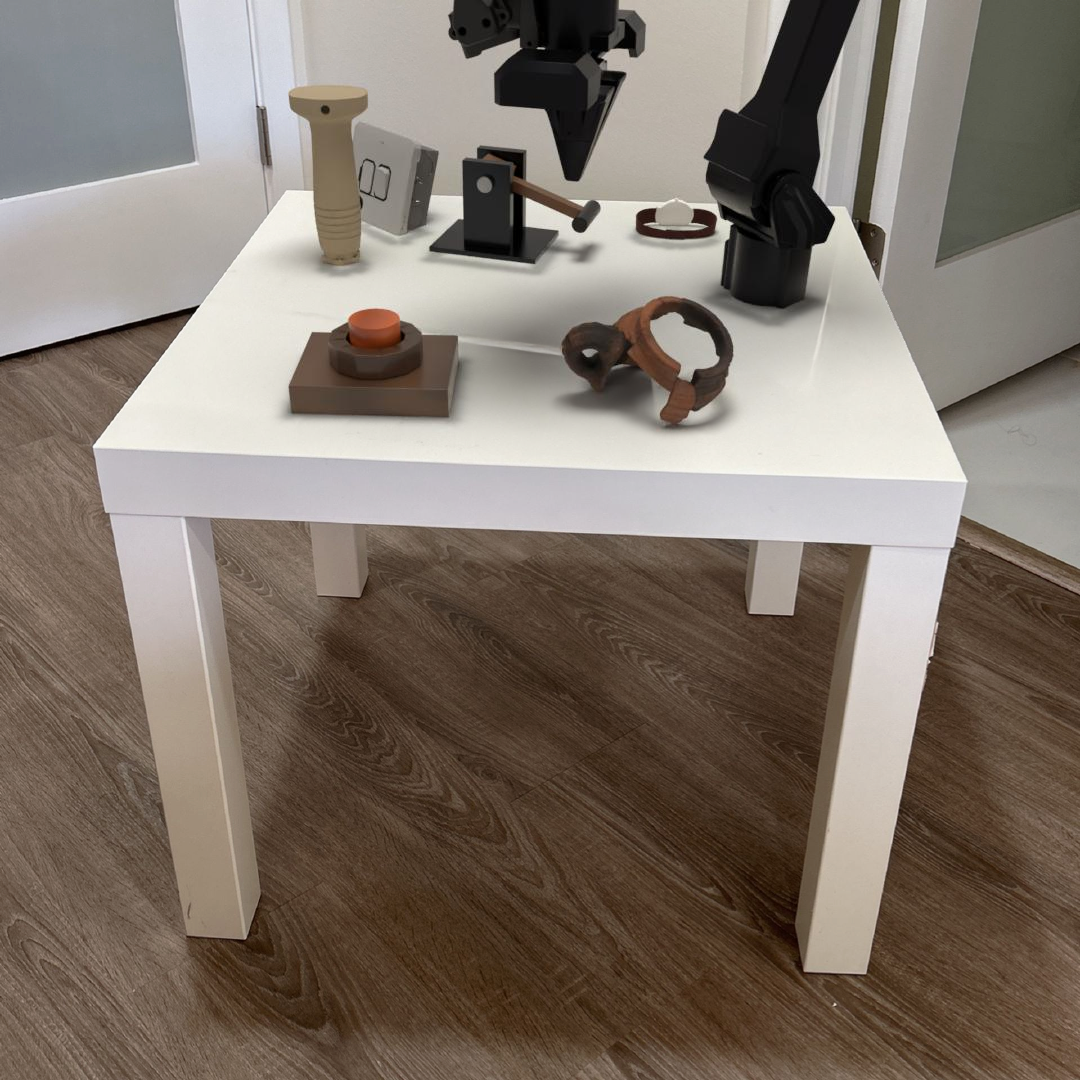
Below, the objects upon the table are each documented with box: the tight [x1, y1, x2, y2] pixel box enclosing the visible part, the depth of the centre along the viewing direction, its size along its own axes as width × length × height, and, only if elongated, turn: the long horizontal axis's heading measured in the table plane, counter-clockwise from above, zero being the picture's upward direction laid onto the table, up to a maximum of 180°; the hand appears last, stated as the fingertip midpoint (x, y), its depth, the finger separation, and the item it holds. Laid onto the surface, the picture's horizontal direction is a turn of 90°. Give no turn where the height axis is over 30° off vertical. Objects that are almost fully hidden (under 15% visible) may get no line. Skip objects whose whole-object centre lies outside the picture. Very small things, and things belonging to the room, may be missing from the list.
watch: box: [635, 197, 718, 240], centre depth 112 cm, size 8×5×4 cm, turn 91°
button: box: [347, 308, 401, 349], centre depth 84 cm, size 4×4×2 cm
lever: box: [483, 154, 602, 234], centre depth 105 cm, size 11×5×2 cm, turn 73°
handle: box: [287, 84, 369, 267], centre depth 101 cm, size 5×6×15 cm
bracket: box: [428, 144, 560, 265], centre depth 107 cm, size 10×8×9 cm
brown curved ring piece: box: [561, 295, 734, 425], centre depth 84 cm, size 12×10×8 cm
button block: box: [288, 319, 460, 418], centre depth 85 cm, size 11×9×4 cm
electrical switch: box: [352, 120, 440, 237], centre depth 112 cm, size 9×5×9 cm, turn 43°
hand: (573, 179), depth 86 cm, fingers closed
